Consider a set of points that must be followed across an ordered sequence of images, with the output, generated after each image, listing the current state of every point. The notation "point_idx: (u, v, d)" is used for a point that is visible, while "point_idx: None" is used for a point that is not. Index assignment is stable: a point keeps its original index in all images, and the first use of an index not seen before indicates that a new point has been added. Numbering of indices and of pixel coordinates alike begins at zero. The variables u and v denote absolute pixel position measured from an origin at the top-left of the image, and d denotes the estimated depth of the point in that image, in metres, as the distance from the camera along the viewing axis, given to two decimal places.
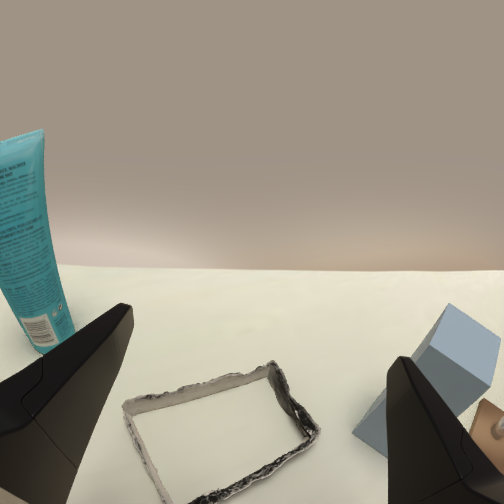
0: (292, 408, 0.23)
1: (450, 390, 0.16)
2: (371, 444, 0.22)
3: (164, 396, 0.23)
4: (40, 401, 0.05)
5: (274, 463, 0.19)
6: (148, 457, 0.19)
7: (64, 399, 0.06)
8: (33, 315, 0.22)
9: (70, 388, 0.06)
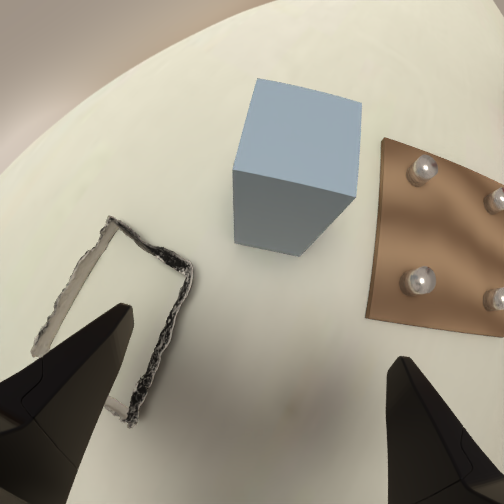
0: (154, 254, 0.23)
1: (301, 203, 0.14)
2: (261, 247, 0.24)
3: (50, 320, 0.21)
4: (40, 401, 0.05)
5: (167, 325, 0.21)
6: None
7: (64, 399, 0.06)
8: None
9: (70, 388, 0.06)
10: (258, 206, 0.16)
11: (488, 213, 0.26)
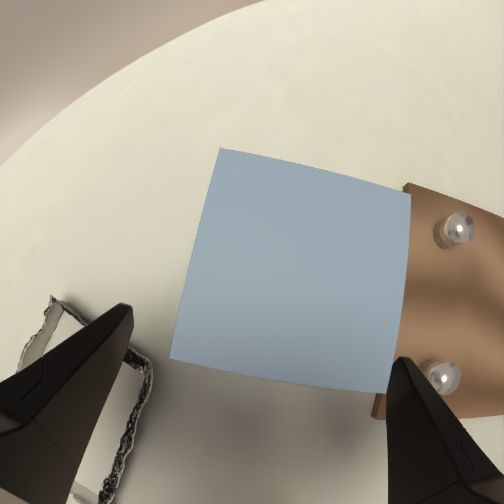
0: None
1: None
2: None
3: None
4: (40, 401, 0.05)
5: (128, 429, 0.16)
6: None
7: (64, 399, 0.06)
8: None
9: (70, 388, 0.06)
10: None
11: None
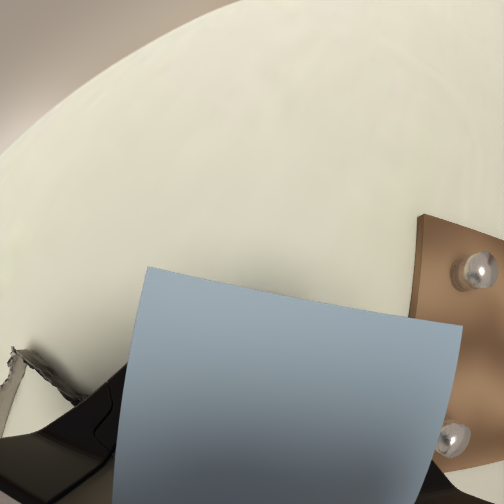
0: (73, 402, 0.14)
1: None
2: None
3: None
4: (116, 432, 0.05)
5: None
6: None
7: None
8: None
9: None
10: None
11: None
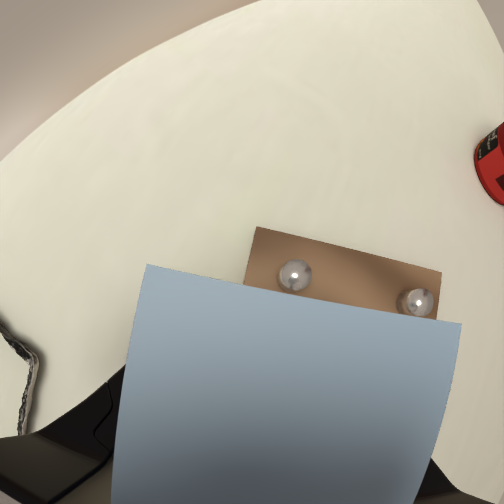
0: (9, 343, 0.20)
1: None
2: None
3: None
4: None
5: (23, 403, 0.19)
6: None
7: None
8: None
9: None
10: None
11: None
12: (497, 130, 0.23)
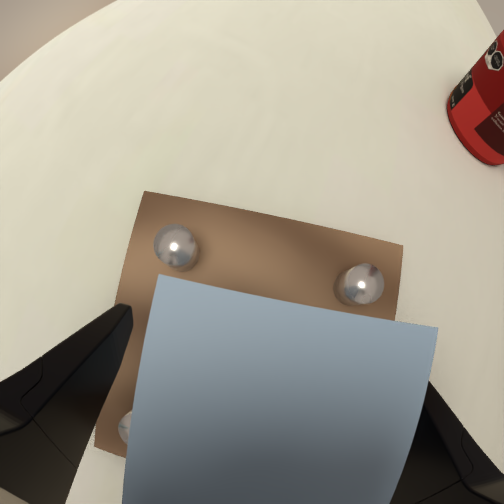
0: None
1: None
2: None
3: None
4: (39, 401, 0.05)
5: None
6: None
7: (63, 399, 0.06)
8: None
9: (69, 388, 0.06)
10: None
11: (341, 304, 0.18)
12: (471, 70, 0.18)
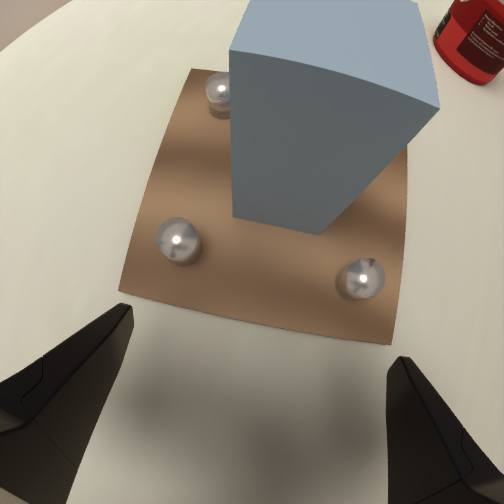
0: None
1: (343, 127, 0.08)
2: (269, 223, 0.18)
3: None
4: (40, 401, 0.05)
5: None
6: None
7: (64, 399, 0.06)
8: None
9: (70, 388, 0.06)
10: (270, 138, 0.09)
11: None
12: (449, 8, 0.20)
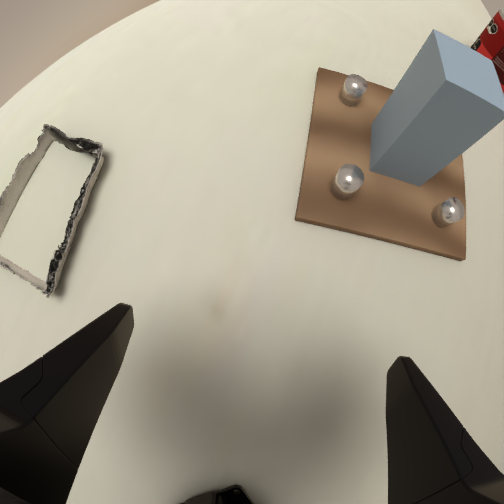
0: (75, 145, 0.24)
1: (470, 118, 0.15)
2: (392, 175, 0.25)
3: None
4: (40, 401, 0.05)
5: (81, 195, 0.23)
6: (17, 267, 0.23)
7: (64, 399, 0.06)
8: None
9: (70, 388, 0.06)
10: (435, 119, 0.17)
11: None
12: (479, 36, 0.27)
